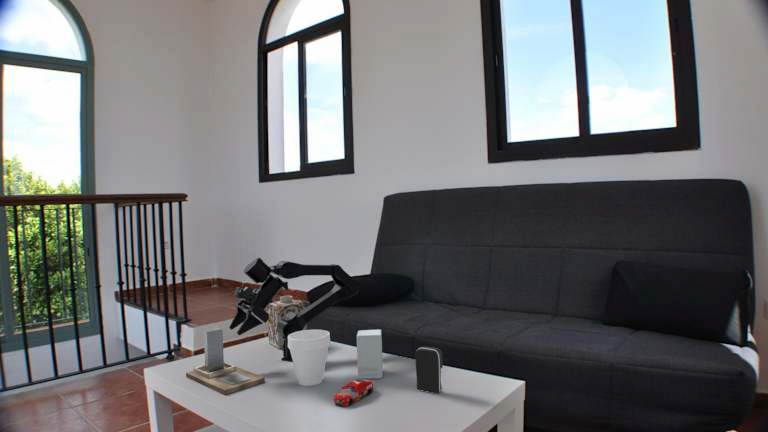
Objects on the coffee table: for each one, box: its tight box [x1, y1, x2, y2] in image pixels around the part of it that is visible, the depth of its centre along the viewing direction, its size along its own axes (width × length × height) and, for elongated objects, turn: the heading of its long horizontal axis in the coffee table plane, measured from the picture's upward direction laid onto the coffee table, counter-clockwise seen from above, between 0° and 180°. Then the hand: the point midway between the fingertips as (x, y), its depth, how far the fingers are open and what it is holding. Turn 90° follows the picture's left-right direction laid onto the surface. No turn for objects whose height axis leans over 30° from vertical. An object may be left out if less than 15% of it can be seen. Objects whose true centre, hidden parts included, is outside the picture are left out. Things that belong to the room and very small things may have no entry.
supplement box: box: [356, 329, 384, 380], centre depth 138 cm, size 7×7×13 cm
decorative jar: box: [267, 295, 308, 350], centre depth 177 cm, size 12×12×18 cm
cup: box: [288, 329, 331, 387], centre depth 134 cm, size 12×12×14 cm
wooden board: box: [185, 361, 266, 395], centre depth 139 cm, size 13×24×2 cm, turn 47°
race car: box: [333, 378, 375, 407], centre depth 121 cm, size 13×5×4 cm, turn 144°
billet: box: [203, 326, 225, 373], centre depth 143 cm, size 5×5×13 cm
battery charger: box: [415, 346, 444, 394], centre depth 124 cm, size 7×4×11 cm, turn 56°
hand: (234, 331), depth 147 cm, fingers open, 9 cm apart
